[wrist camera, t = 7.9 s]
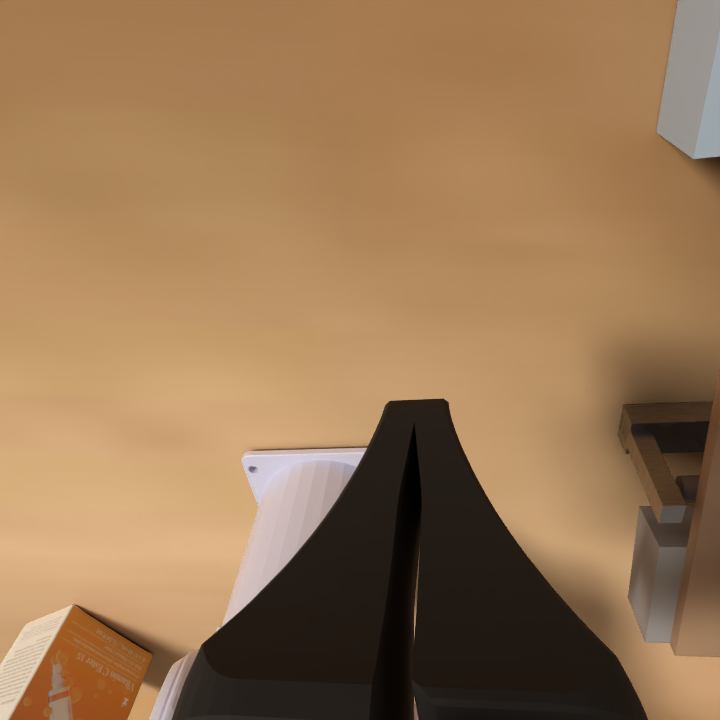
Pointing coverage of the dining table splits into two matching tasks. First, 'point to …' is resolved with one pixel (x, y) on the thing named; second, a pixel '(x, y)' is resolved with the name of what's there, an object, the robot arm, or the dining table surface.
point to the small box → (70, 670)
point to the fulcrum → (663, 448)
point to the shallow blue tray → (693, 81)
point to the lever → (683, 562)
